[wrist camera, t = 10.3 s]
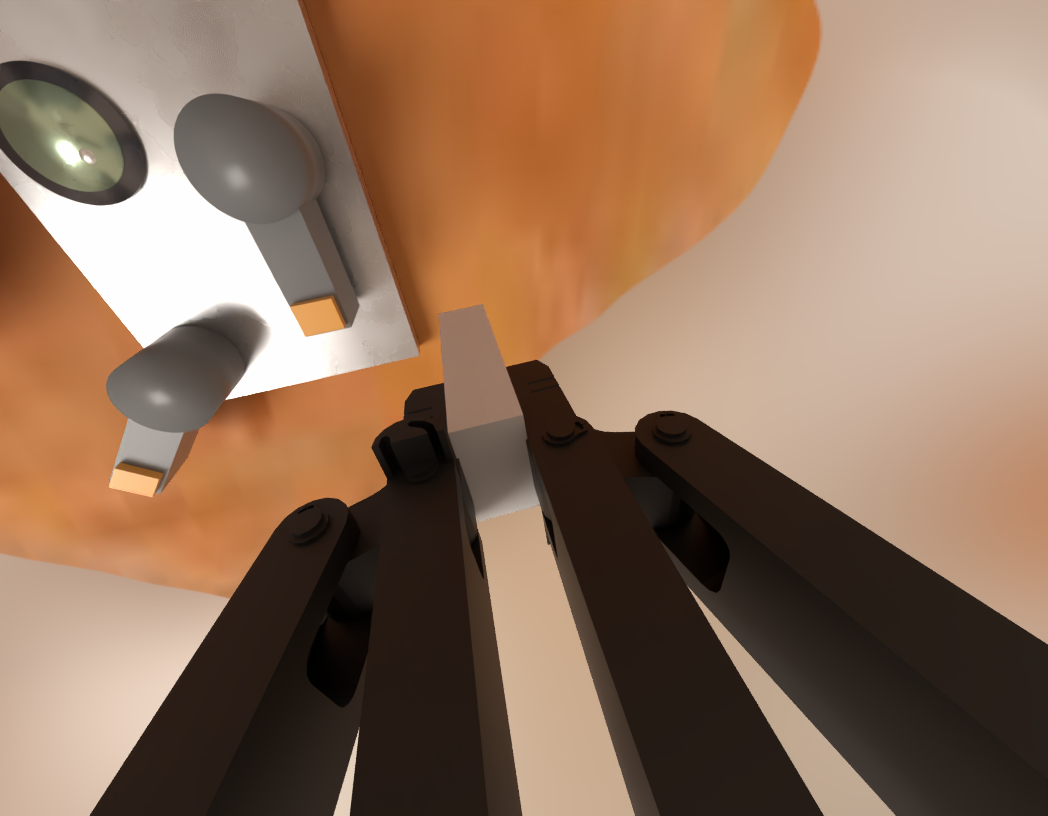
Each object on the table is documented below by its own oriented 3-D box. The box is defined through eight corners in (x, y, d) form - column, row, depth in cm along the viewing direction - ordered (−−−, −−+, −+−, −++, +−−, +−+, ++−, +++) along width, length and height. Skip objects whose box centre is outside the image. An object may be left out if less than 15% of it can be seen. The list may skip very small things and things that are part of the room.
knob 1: (166, 312, 21) (116, 345, 18) (254, 348, 24) (225, 384, 20) (128, 435, 25) (79, 483, 21) (208, 457, 27) (176, 504, 23)
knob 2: (200, 111, 17) (144, 103, 14) (299, 96, 18) (269, 84, 14) (304, 314, 23) (283, 345, 20) (377, 299, 23) (369, 326, 20)
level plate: (-490, -498, 10) (-691, -639, 8) (131, -508, 11) (76, -630, 9) (204, 394, 26) (188, 412, 24) (419, 345, 28) (419, 359, 26)
